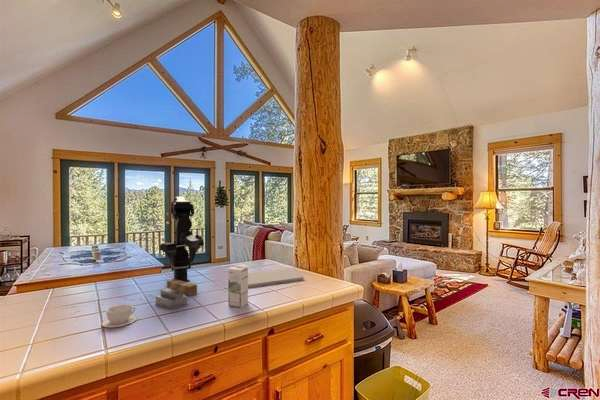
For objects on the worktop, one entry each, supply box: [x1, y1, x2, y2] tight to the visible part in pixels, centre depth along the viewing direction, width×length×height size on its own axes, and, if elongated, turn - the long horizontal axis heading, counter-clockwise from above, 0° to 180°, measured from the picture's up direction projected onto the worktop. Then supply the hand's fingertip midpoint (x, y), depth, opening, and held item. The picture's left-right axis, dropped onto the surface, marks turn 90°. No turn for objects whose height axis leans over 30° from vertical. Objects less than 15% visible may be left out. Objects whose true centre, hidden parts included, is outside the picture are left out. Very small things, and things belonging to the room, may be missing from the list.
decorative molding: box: [248, 267, 305, 288], centre depth 147 cm, size 34×5×10 cm
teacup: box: [101, 304, 138, 329], centre depth 99 cm, size 10×10×5 cm
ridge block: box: [155, 287, 188, 310], centre depth 116 cm, size 10×7×5 cm
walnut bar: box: [166, 278, 198, 297], centre depth 132 cm, size 16×4×4 cm, turn 56°
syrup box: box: [227, 265, 249, 308], centre depth 115 cm, size 6×6×14 cm
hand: (182, 264), depth 132 cm, fingers open, 9 cm apart
